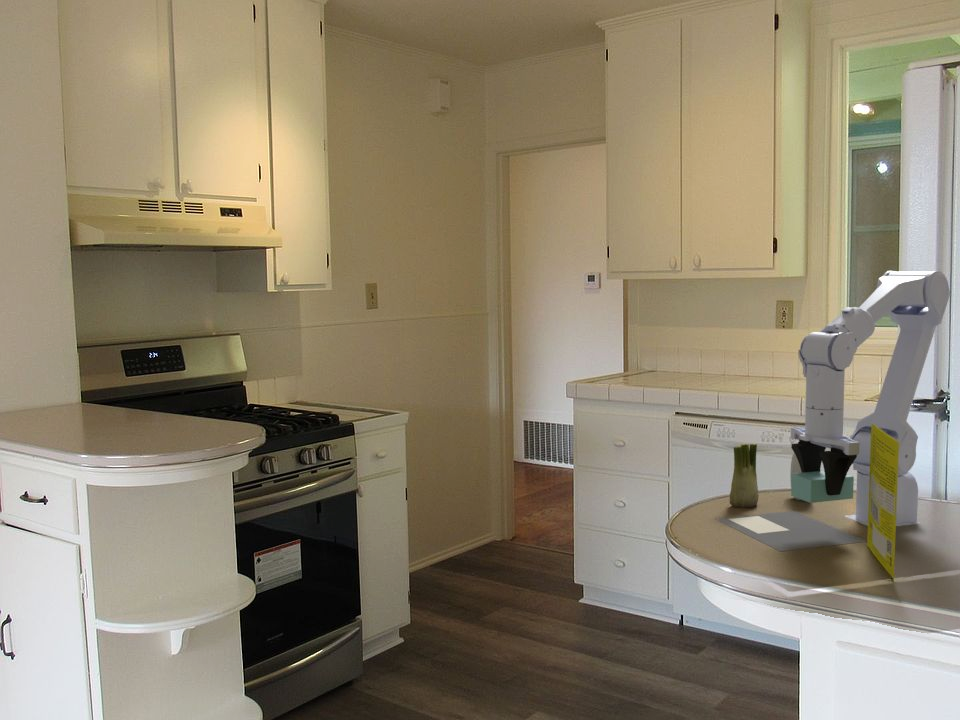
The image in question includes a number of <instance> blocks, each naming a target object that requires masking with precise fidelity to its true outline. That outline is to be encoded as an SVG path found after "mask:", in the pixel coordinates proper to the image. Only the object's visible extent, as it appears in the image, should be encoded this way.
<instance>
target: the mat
mask: <svg viewBox="0 0 960 720" xmlns="http://www.w3.org/2000/svg"><path fill="white" fill-rule="evenodd" d="M715 521H718V522H720V523H722V524H723V525H726V526H728V527H730V528H732V529H733V530H737V531H738V532H740V533H742V534H744V535H745V536H749V537H751V538H752V539H754V540H755V541H756V540H757V541H758V542H760V543H762V544H765V545H766V546H768V547H771V548H772V549H774V550H776V551H778V552H788V551H789V552H790V551H798V550H807V549H814V548H817V549H818V548H822V547H823V548H824V547H833V546H840V545H848V544H850V545H851V544H857V543H859V544H860V543H865V542H867V540H866V539H863V538H861V537H859V536H856V535H853V534H852V533H848V532H846V531H844V530H841V529H839V528H837V527H834V526H832V525H829V524H826V522H825V523H824V522H822V521H820V520H817V519H815V518H812V517H810V516H807V515H805V514H803V513H800V512H799V511H795V510H790V511H780V512H779V511H778V512H770V513H758V514H751V515H740V516H730V517H721V518H715Z"/></svg>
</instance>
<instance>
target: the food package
mask: <svg viewBox="0 0 960 720" xmlns="http://www.w3.org/2000/svg"><path fill="white" fill-rule="evenodd" d="M898 455H899V442H897V441H896V440H895V439H894V438H892V437H891V436H890V435H888V434H887V433H885V432H884V431H882V430H881V429H880V428H878V427H877V426H875V425H873V424H871V446H870V477H869V506H868V526H867V533H866V534H867V537H866V538H867V540H866V541H867V548H868V549H869V550H870V551H871V552H872V554H873V556H874V557H875V558H876V559H877V560H878V562H879V563H880V564H881V565H882V567H883V568H884V570H885V571H886V572H887V573H888V574H889V575H890V578H889V579H890V580H891V582H892V583H893V584H894V583H895V556H896V535H897V533H896V531H897V530H896V529H897V526H896V510H897V483H898Z"/></svg>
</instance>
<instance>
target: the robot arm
mask: <svg viewBox="0 0 960 720" xmlns="http://www.w3.org/2000/svg"><path fill="white" fill-rule="evenodd" d="M950 295H951V292H950V287H949V281H948V279H947V277H946V275H945V274H944V273H943V272H942V271H940V270H933V271H896V270H887V271H886V272H884V274H883V275H882V276H881V277H879V278H878V279H877V285H876V289H875V290H874V291H873V292H872V293H871V294H870V295H869V296H868V297H867V298H866V299H865V300H864V302H862V303H861V305H859V307H855V306H853V307H844V308H843V309H842V310H841V314H839V315H838V316H837V317H835V319H833V320H832V321H830V322H828V323H827V324H826V325H825V327H824V328H822V329H821V330H820V331H812V332H810V333H809V334H807V335H805V336H804V338H803V339H802V340H801V344H800V347H799V349H798V358H799V361H800V363H801V365H802V375H803V377H804V378H806V379H805V409H804V410H805V413H804V414H805V416H804V423H805V424H804V426H791V427H790V439H791V440H798V442H797V443H791V450H792V452H793V454H794V453H795V455H796V457H797V459H798V462H799V465H800V468H801V472H802V473H805V472H816V471H821V467H822V465H823V471H824V472H825V487H826V492H827V495H830V496H831V495H840V493H841V490H842V486H843V483H844V480H845V477H846V475H848V472H849V470H850V469H851V467H852V470H853V471H856V491H855V492H856V493H855V494H856V498H855V514H849V515H848V514H847V515H844V517H845V518H847V519H849V520H853V521H855V522H858V523H860V524H863V525H864V526H867V527H868V506H869V477H870V446H871V424H873V425H875V426H877V427H878V428H880V429H881V430H882V431H884V432H885V433H887V434H888V435H890V436H891V437H892V438H894V439H895V440H896V441H897V442H899V455H898V483H897V510H896V527H901V526H909V525H910V526H911V525H919V524H920V525H921V522H919V521H918V505H919V503H918V502H919V486H918V482H917V480H916V477H915V476H914V475H913V474H912V473H911V472H909V471H911V469H912V468H913V467H914V465H915V462H916V457H917V443H918V438H919V436H918V434H917V432H916V430H915V429H914V428H913V427H912V426H911V425H910V424H909V423H908V418H909V414H910V411H911V407H912V404H913V401H914V398H915V395H916V391H917V389H918V385H919V382H920V379H921V375H922V372H923V369H924V367H925V362H926V359H927V357H928V353H929V350H930V346H931V344H932V340H933V338H934V334H935V331H936V327H938V326H939V325H940V324H942V321H943V318H944V315H945V312H946V308H947V305H948V302H949V299H950ZM886 315H888V317H889V319H890V321H891V322H893V323H895V324H896V325H898V326H899V334H898V337H897V341H896V343H895V346H894V349H893V352H892V356H891V358H890V363H889V365H888V367H887V371H886V373H885V378H884V380H883V383H882V387H881V390H880V393H879V396H878V399H877V402H876V405H875V407H874V408H875V409H874V412H872V413H871V414H869V415H867V416H865V417H863V418H861V419H859V420H858V421H857V424H856V426H855V429H854V431H853V432H852V433H851V435H850V436H849V437H848V436H847V435H845V434H844V405H845V404H844V402H845V401H844V400H845V371H846V370H845V369H848V368H849V367H851V366H850V365H851V364H852V363H853V362H852V361H853V359H854V355H855V353H857V350H858V348H859V347H860V346H861V345H863V343H864V342H865V341H866V340H868V339H869V338H870V337H871V336H872V335H873V334H874V332H875V329H876V328H875V326H876V325H875V324H876V323H877V322H878V321H879V320H881V319H882V318H884V317H885V316H886ZM826 449H830V450H826Z"/></svg>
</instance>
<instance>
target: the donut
mask: <svg viewBox="0 0 960 720" xmlns="http://www.w3.org/2000/svg"><path fill="white" fill-rule="evenodd" d="M790 461H791V462H790V473H789V475H790V480H791V478H792V474H794V473H802V472H801V468H800V465H799V462H798V459H797V457H796V455H795V453H794V452H793V454H792V456H791V460H790ZM793 498H794V499H795V500H797V501H802V502H803V501H804V500H802V499H799V498H796V497H794V496H793Z"/></svg>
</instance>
